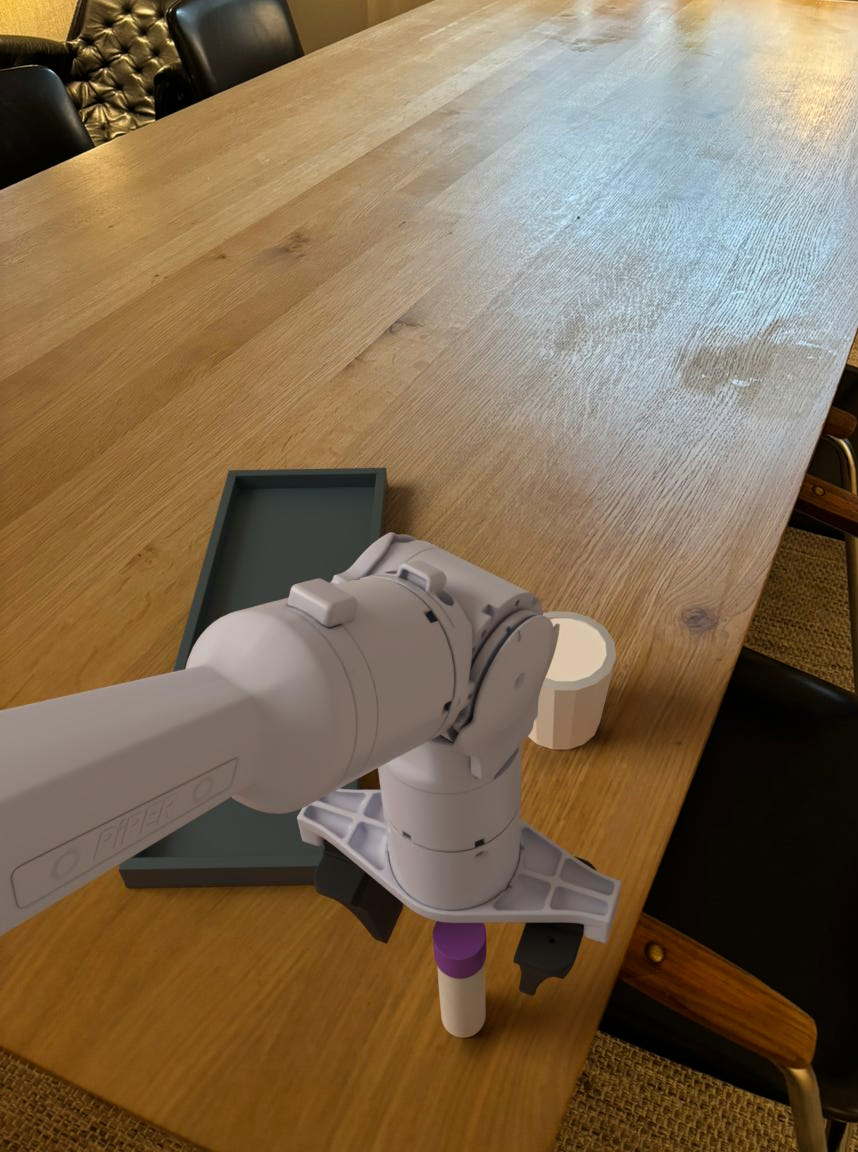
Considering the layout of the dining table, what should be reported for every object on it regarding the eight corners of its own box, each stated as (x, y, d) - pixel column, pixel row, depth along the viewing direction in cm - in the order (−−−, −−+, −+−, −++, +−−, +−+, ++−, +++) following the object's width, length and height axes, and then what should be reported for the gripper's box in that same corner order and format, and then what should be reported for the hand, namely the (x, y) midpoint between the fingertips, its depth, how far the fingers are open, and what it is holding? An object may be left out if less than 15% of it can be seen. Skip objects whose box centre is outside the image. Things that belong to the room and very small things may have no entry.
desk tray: (353, 884, 61) (350, 865, 60) (125, 888, 61) (117, 869, 60) (387, 486, 90) (386, 467, 88) (232, 488, 90) (228, 470, 88)
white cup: (489, 726, 70) (488, 658, 65) (543, 663, 74) (546, 595, 70) (576, 774, 67) (582, 706, 62) (626, 705, 71) (635, 637, 67)
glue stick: (477, 1047, 54) (475, 967, 48) (432, 1029, 55) (424, 949, 49) (494, 1000, 56) (493, 918, 50) (449, 984, 57) (444, 901, 51)
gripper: (647, 762, 43) (622, 923, 52) (335, 673, 47) (361, 836, 56) (604, 913, 38) (584, 1062, 47) (258, 799, 42) (300, 956, 51)
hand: (459, 948), depth 51 cm, fingers open, 7 cm apart
